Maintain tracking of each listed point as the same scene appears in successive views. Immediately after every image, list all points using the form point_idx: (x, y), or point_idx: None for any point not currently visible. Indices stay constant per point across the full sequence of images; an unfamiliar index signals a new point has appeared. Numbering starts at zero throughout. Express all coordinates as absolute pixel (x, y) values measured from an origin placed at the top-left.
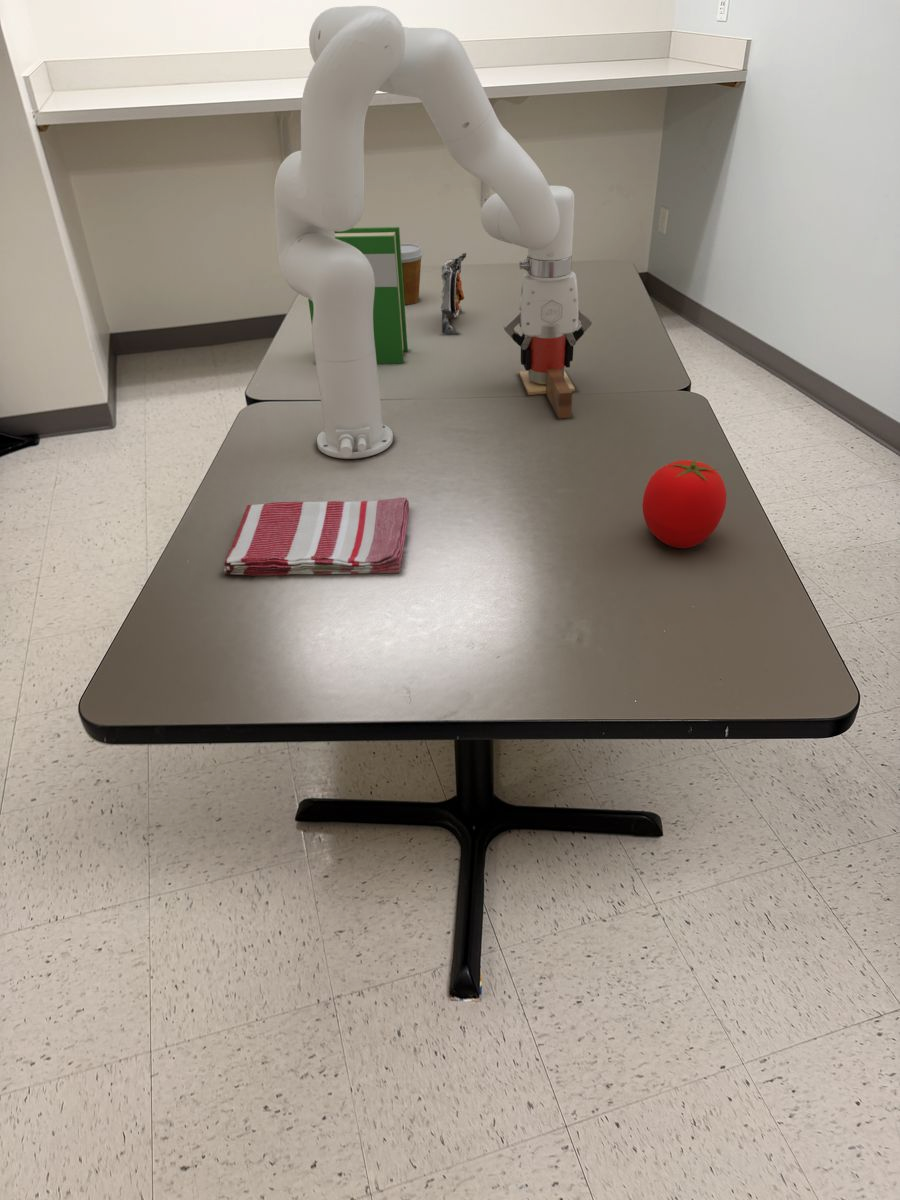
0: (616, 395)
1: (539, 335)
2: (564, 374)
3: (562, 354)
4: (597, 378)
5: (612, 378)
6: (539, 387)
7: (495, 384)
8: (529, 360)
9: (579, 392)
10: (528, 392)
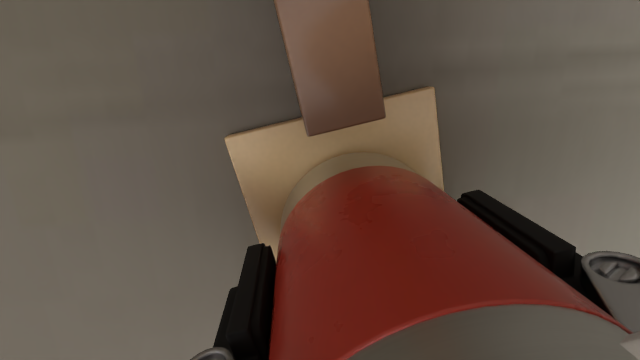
0: (20, 99)
1: (627, 338)
2: None
3: (288, 261)
4: (148, 273)
5: (85, 278)
6: (384, 141)
7: (544, 192)
8: (495, 216)
9: (204, 128)
10: (433, 90)
